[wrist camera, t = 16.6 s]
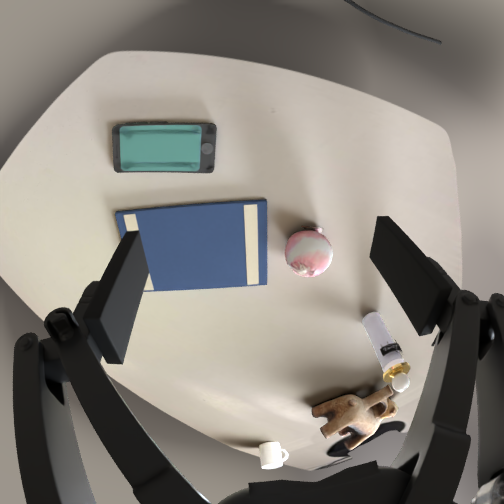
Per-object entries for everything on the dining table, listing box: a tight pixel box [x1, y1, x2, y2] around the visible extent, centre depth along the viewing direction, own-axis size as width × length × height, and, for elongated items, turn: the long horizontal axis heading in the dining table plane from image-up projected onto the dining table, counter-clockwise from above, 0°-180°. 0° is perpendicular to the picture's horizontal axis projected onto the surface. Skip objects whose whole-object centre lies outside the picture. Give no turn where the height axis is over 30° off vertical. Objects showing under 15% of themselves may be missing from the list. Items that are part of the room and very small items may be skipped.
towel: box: [115, 199, 267, 292], centre depth 49 cm, size 24×16×1 cm, turn 92°
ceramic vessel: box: [312, 385, 398, 451], centre depth 81 cm, size 13×31×25 cm
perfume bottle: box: [362, 312, 410, 391], centre depth 53 cm, size 6×6×20 cm
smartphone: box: [112, 122, 217, 173], centre depth 39 cm, size 7×1×15 cm
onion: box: [285, 226, 333, 277], centre depth 47 cm, size 8×8×7 cm
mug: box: [259, 442, 288, 469], centre depth 94 cm, size 8×12×10 cm
